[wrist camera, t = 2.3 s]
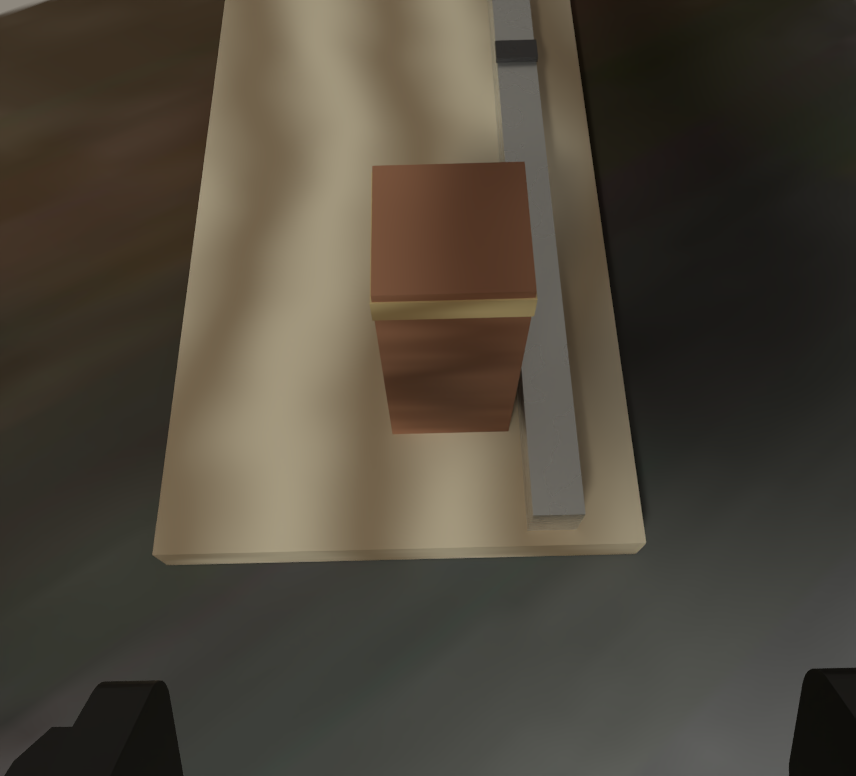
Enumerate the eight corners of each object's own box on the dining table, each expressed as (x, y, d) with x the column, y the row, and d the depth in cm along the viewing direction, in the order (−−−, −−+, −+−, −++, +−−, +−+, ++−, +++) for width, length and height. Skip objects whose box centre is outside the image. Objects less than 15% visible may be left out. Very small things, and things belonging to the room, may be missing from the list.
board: (167, 565, 27) (152, 554, 25) (233, 27, 38) (225, -1, 36) (635, 553, 26) (646, 543, 25) (563, 17, 38) (568, -11, 36)
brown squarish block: (390, 435, 27) (368, 297, 19) (391, 332, 29) (370, 164, 20) (509, 432, 27) (539, 293, 19) (502, 328, 29) (526, 159, 20)
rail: (525, 530, 25) (532, 513, 24) (486, -1, 36) (488, -41, 34) (577, 529, 25) (588, 512, 23) (523, -2, 36) (527, -43, 34)
